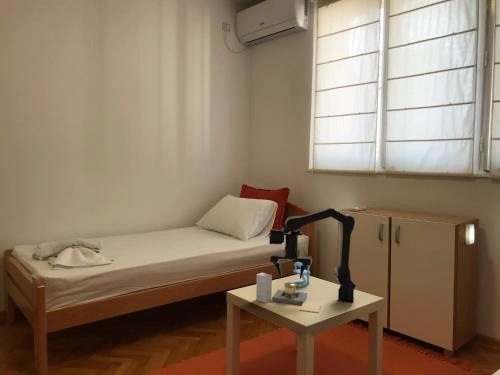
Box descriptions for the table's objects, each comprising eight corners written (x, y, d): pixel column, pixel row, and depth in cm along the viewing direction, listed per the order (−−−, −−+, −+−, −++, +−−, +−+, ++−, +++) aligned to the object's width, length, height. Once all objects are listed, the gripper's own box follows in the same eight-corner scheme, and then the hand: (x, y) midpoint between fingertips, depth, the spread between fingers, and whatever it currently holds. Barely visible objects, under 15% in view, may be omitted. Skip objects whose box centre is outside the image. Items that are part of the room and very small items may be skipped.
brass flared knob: (297, 297, 190) (297, 283, 189) (294, 301, 184) (295, 286, 184) (285, 296, 191) (285, 281, 191) (282, 300, 186) (283, 285, 185)
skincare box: (271, 300, 185) (272, 275, 184) (265, 303, 182) (266, 276, 181) (262, 297, 189) (262, 272, 188) (255, 299, 186) (256, 273, 185)
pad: (321, 306, 178) (321, 305, 178) (318, 312, 171) (318, 311, 171) (303, 304, 181) (303, 303, 181) (299, 310, 173) (299, 309, 173)
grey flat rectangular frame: (307, 296, 191) (307, 292, 191) (302, 305, 180) (302, 301, 180) (278, 293, 196) (278, 289, 195) (272, 301, 184) (272, 297, 184)
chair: (312, 285, 209) (313, 262, 209) (300, 287, 205) (300, 264, 204) (302, 281, 216) (303, 259, 215) (290, 283, 211) (291, 260, 211)
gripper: (314, 242, 191) (313, 275, 192) (276, 239, 197) (275, 271, 198) (310, 247, 180) (309, 281, 181) (270, 244, 186) (269, 277, 187)
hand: (290, 277), depth 187 cm, fingers open, 9 cm apart
